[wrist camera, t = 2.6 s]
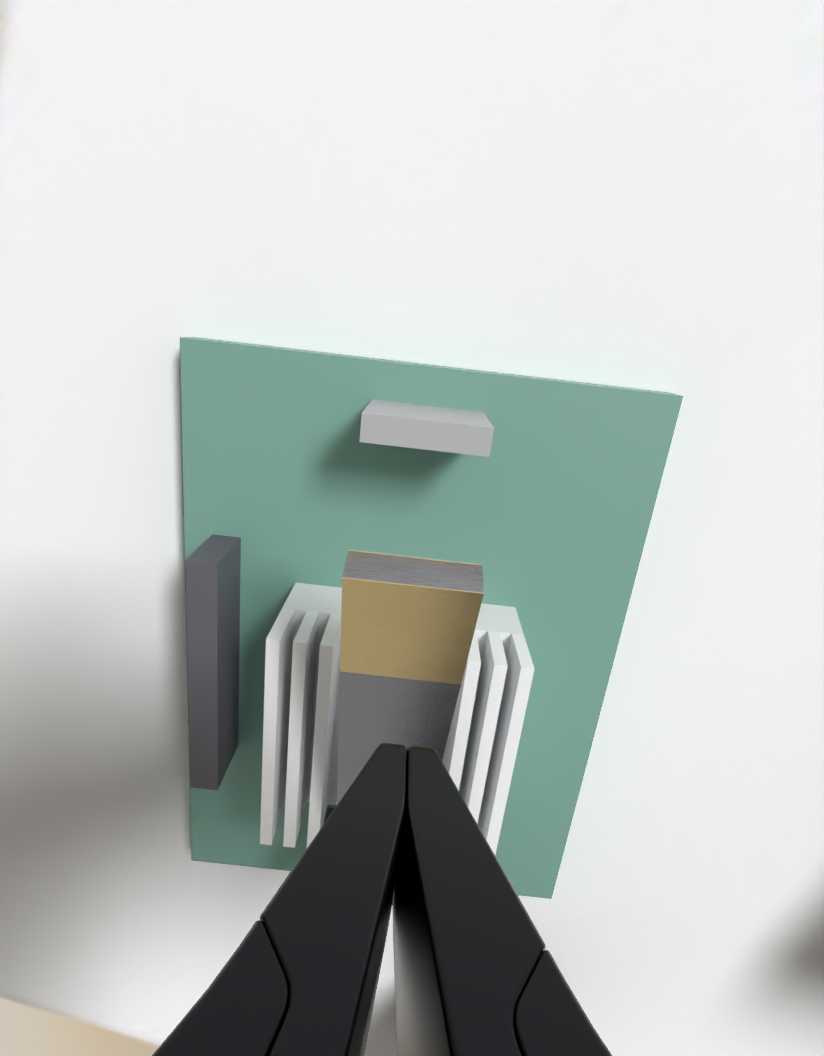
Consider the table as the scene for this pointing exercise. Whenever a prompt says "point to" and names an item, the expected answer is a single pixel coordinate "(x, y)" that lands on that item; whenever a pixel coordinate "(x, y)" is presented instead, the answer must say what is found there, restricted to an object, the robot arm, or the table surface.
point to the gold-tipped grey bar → (401, 652)
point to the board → (407, 530)
